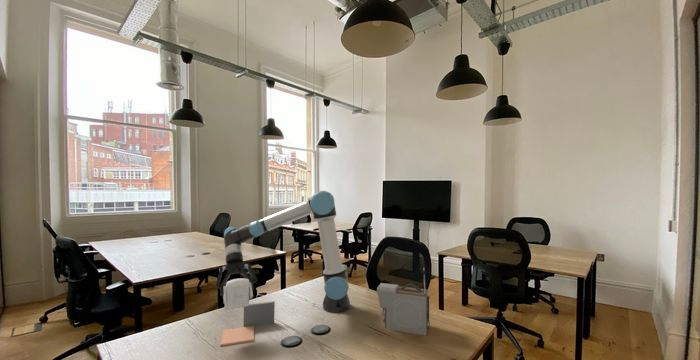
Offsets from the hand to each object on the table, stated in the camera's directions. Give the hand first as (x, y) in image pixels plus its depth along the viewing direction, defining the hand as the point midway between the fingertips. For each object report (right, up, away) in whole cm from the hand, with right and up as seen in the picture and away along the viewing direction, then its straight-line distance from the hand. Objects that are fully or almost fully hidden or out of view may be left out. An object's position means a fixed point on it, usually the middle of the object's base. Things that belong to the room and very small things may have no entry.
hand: (238, 299), depth 124 cm
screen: (+5, -17, +13) cm, 22 cm away
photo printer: (-2, -5, +2) cm, 5 cm away
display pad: (-1, -17, +2) cm, 17 cm away
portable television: (+74, -18, +11) cm, 76 cm away
